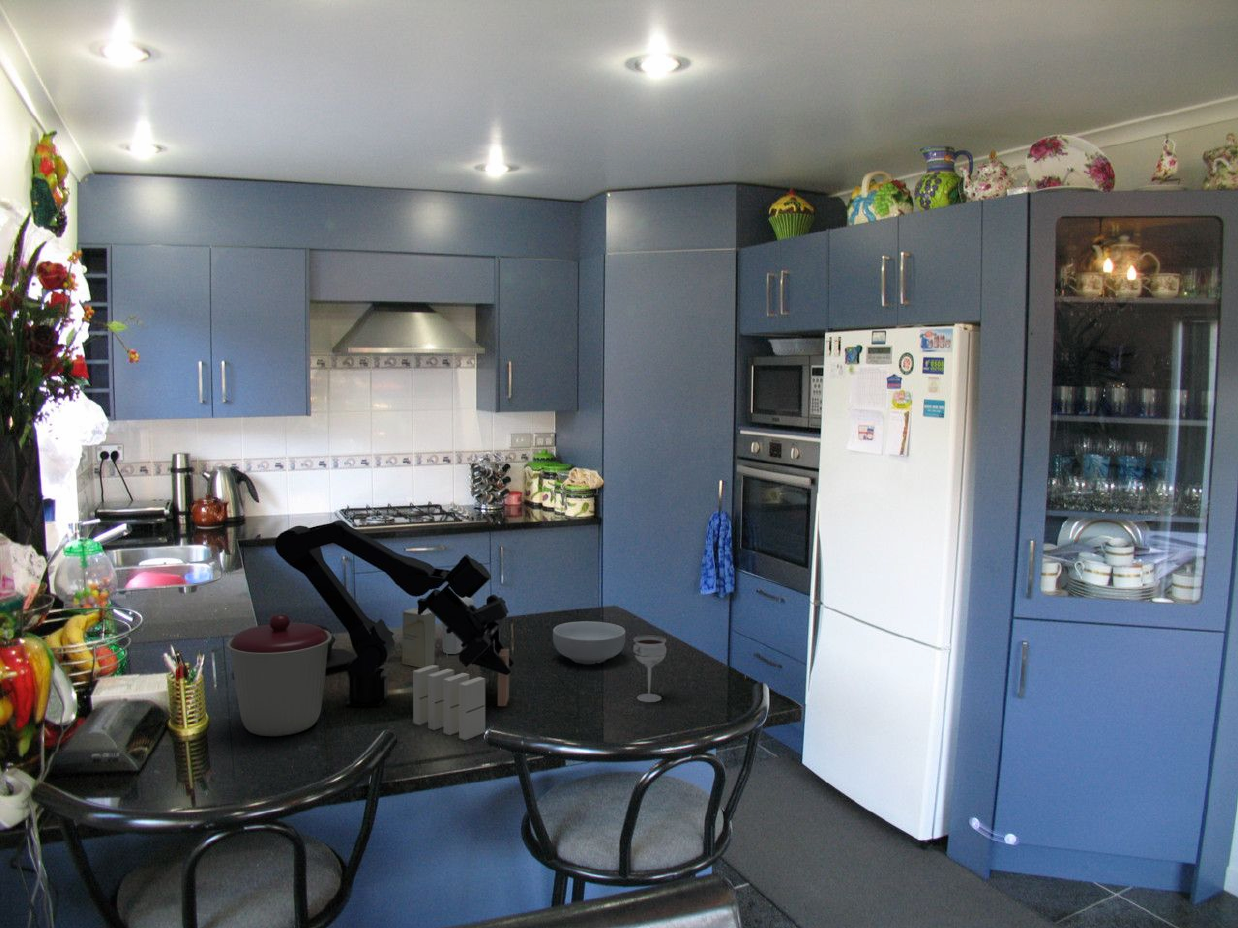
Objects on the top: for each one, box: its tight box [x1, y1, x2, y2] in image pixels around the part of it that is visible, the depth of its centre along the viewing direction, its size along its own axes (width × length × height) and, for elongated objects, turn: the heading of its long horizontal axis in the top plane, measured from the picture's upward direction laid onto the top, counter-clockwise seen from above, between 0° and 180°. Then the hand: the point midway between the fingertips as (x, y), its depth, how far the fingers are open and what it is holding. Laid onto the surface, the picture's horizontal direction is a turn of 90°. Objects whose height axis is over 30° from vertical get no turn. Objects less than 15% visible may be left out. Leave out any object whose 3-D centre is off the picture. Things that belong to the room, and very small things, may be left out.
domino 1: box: [412, 664, 440, 726], centre depth 179 cm, size 2×5×10 cm, turn 144°
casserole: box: [314, 624, 355, 670], centre depth 209 cm, size 25×19×8 cm
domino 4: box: [458, 676, 486, 741], centre depth 172 cm, size 2×5×10 cm, turn 144°
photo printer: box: [442, 596, 476, 655], centre depth 225 cm, size 10×4×12 cm, turn 160°
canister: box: [225, 613, 333, 737], centre depth 174 cm, size 18×18×21 cm
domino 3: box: [442, 672, 470, 736], centre depth 174 cm, size 2×5×10 cm, turn 144°
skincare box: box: [401, 607, 436, 669], centre depth 213 cm, size 6×4×12 cm
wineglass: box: [632, 634, 668, 703], centre depth 193 cm, size 7×7×12 cm
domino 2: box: [427, 668, 455, 731], centre depth 176 cm, size 2×5×10 cm, turn 144°
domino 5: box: [497, 648, 510, 707], centre depth 189 cm, size 2×5×10 cm, turn 0°
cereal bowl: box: [552, 620, 626, 665], centre depth 219 cm, size 17×17×7 cm
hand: (510, 669), depth 189 cm, fingers closed on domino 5, 5 cm apart
